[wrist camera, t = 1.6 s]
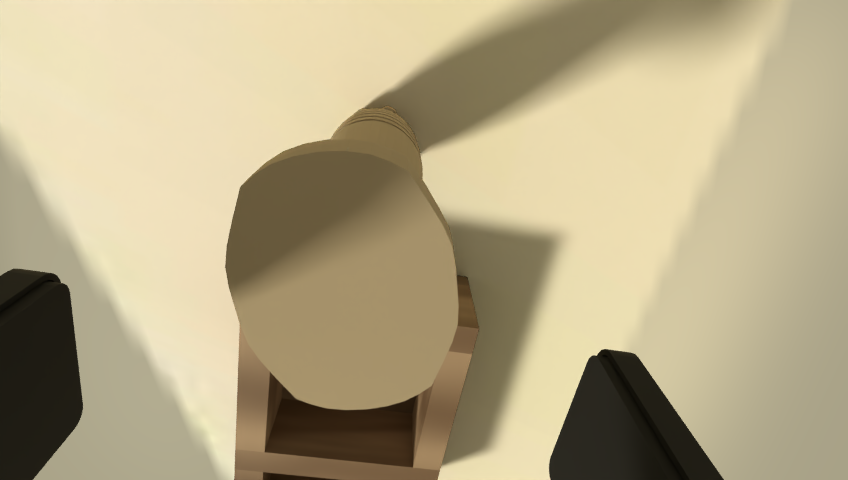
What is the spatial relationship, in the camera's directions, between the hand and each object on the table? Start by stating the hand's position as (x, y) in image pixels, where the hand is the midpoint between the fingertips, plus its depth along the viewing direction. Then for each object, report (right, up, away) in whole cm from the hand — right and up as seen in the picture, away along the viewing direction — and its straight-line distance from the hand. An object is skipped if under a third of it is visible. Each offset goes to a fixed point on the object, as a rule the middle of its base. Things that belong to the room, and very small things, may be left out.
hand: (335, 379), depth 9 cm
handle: (-1, +8, +15) cm, 17 cm away
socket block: (-3, -6, +21) cm, 22 cm away
